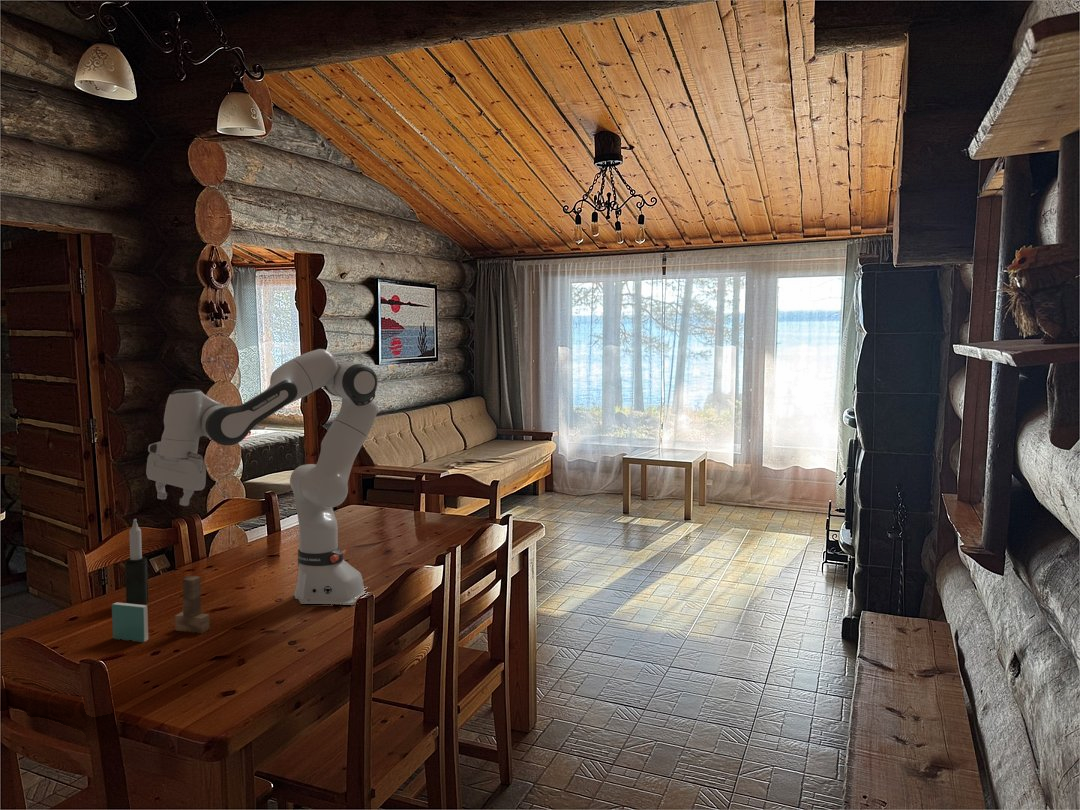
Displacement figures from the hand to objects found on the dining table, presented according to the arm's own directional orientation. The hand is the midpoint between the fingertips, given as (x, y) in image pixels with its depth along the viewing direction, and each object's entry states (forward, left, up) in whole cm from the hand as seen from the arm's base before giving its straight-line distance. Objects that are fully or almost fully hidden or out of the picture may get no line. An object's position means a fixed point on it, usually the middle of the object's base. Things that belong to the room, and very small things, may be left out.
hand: (172, 502), depth 187 cm
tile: (+5, +10, -34) cm, 36 cm away
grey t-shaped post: (-6, +1, -34) cm, 34 cm away
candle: (+21, -11, -34) cm, 42 cm away
